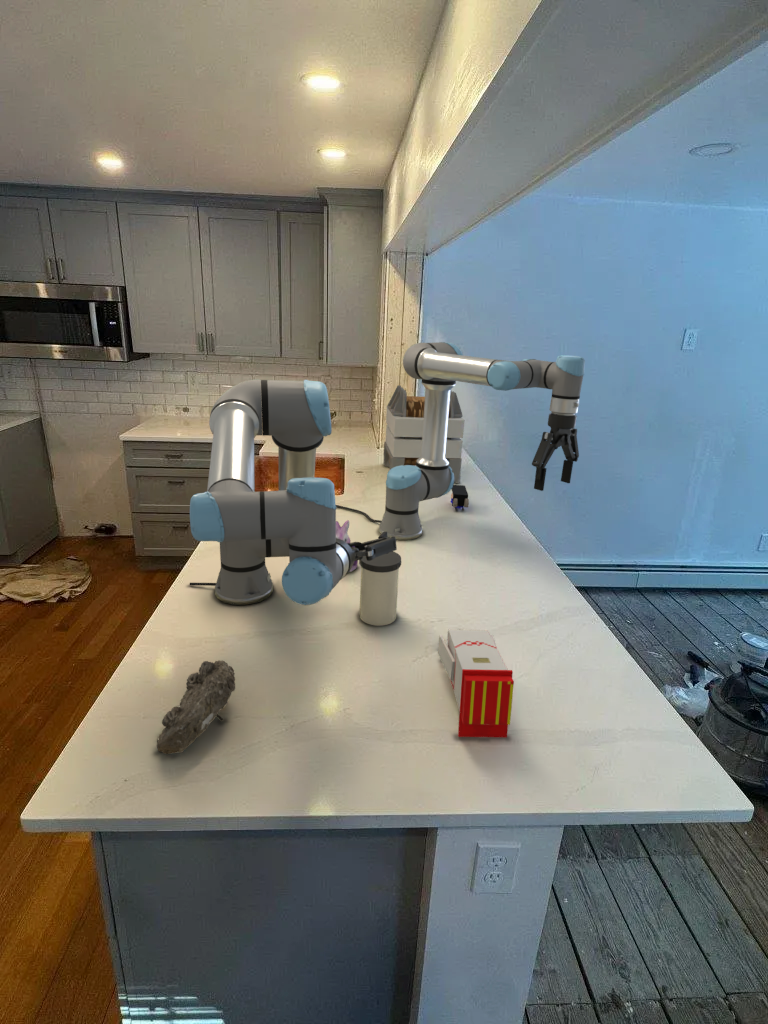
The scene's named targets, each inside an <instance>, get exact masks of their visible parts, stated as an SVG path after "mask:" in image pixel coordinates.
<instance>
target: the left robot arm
mask: <svg viewBox="0 0 768 1024" xmlns="http://www.w3.org/2000/svg"><path fill="white" fill-rule="evenodd" d="M208 424H209V425H208V426H209V429H210V432H211V434H212V443H211V452H210V462H209V472H208V479H207V489H206V491H204V492H198V493H195V494H192V496H191V498H190V500H189V522H190V523H189V526H190V532H191V535H192V538H193V539H195V540H196V541H197V542H216V543H219V557H220V559H219V560H220V569H219V573H218V576H217V580H216V582H189V586H211V587H212V586H213V587H214V593H215V597H216V599H217V600H219V601H221V602H222V603H225V604H228V605H234V606H235V605H236V606H245V605H246V606H247V605H252V604H257V603H260V602H262V601H264V600H266V599H268V598H269V597H271V595H272V594H273V591H274V585H273V583H274V582H273V580H272V576H271V573H270V572H269V570H268V567H267V565H266V558H285V557H286V558H287V557H288V558H289V560H288V561H289V563H287V565H286V566H285V568H284V570H283V572H282V575H281V587H282V589H283V592H284V594H285V596H287V597H288V599H290V600H291V602H293V603H296V604H298V605H302V606H310V605H311V606H312V605H314V604H317V603H318V602H320V601H322V600H323V599H325V598H326V597H328V596H329V595H330V594H331V592H332V590H333V589H335V587H337V585H338V584H339V583H340V581H341V580H342V579H344V578H345V577H346V576H347V575H348V574H349V573H350V572H349V571H350V570H351V568H352V566H353V563H354V561H357V560H358V561H359V560H361V559H362V558H363V556H365V557H366V559H367V560H368V561H371V560H373V559H374V558H375V557H378V556H381V555H384V554H388V553H389V552H392V551H393V552H396V551H397V549H398V548H397V540H396V538H395V537H391V538H390V537H388V535H387V532H383V533H382V534H380V535H379V536H378V537H377V538H376V539H372V540H368V541H364V542H361V541H353V542H350V543H346V542H345V541H343V540H341V539H338V538H336V521H337V507H336V505H337V504H336V492H335V491H336V490H335V484H334V482H333V481H332V480H331V479H329V478H326V477H315V473H316V459H317V458H316V457H317V449H318V448H320V446H321V445H322V444H323V441H324V438H325V437H328V436H331V435H332V430H333V429H332V417H331V409H330V399H329V393H328V388H327V385H326V384H325V383H324V382H322V381H319V380H308V379H303V380H283V379H281V380H280V379H279V380H278V379H277V380H276V379H249V380H245V381H242V382H239V383H237V384H235V385H233V386H231V387H230V388H228V389H227V390H226V391H225V392H223V393H222V394H221V395H220V397H219V398H218V399H217V400H216V401H215V402H214V404H213V406H212V408H211V410H210V415H209V421H208ZM256 436H264V437H265V436H269V437H271V439H272V441H273V443H274V445H276V447H278V449H277V450H278V455H277V457H278V459H277V460H278V461H277V463H278V490H268V491H255V487H256V485H255V484H256V483H255V438H256ZM352 546H355V547H352Z"/></svg>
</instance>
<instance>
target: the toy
mask: <svg viewBox="0 0 768 1024" xmlns="http://www.w3.org/2000/svg"><path fill="white" fill-rule="evenodd" d="M446 640H447V643H446V641H445V639H444V636H443V635H442V634H439V637H438V646H437V656H438V657H439V659H440V661H441V663H442V666H443V668H444V670H445V672H446V674H447V677H448V679H449V681H450V684H451V687H452V690H453V693H454V697H455V701H456V705H457V708H458V711H459V714H458V715H459V716H458V730H457V731H458V732H457V737H458V738H508V731H509V726H510V725H511V717H512V707H513V697H514V696H513V695H514V684H515V680H514V679H513V673H514V671H513V670H512V669H508V667H507V665H506V662H505V661H504V659H503V658H502V655H501V653H500V651H499V649H498V647H497V643H496V639H495V637H494V635H493V634H491V632H490V631H489V629H467V628H466V629H465V628H463V629H461V628H460V629H459V628H448V630H447V639H446Z"/></svg>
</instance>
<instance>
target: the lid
mask: <svg viewBox="0 0 768 1024" xmlns="http://www.w3.org/2000/svg"><path fill="white" fill-rule="evenodd" d="M358 564H359V566H360V568H361V567H362V568H364V569H366V570H368V571H372V572H381V573H384V572H391V571H395V570H397V569H398V568H399V569H400V568H401V566H402V556H401V555H400V554H399V553H398V552H396V551H392V552H389V553H388V554H384V555H381V556H378V557H375V558H374V559H373V560H371V561H368V560H367V559H366V557H365V556H363V558H362V559H361V560H358Z"/></svg>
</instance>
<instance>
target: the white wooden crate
mask: <svg viewBox="0 0 768 1024" xmlns="http://www.w3.org/2000/svg"><path fill="white" fill-rule="evenodd" d="M407 394H408V393H407V390H406V389H404V388H403V387H402V385H399V384H398V385H397V386H396V388H395V390H394V392H393V394H392V395H391V398H390V400H389V402H388V404H387V405H386V413H385V414H386V415H385V423H386V428H385V438H384V442H383V466H384V467H388V468H389V470H390V469H392V468H394V467H396V466H401V465H404V466H405V465H413V466H416V461H417V459H418V458H420V457H421V449H422V434H423V419H424V404H425V396H415V395H414V396H413V395H412V396H411V395H407ZM464 429H465V419H464V418H463V411H462V408H461V405H460V402H459V398H458V395H457V392H455V391H453V390H451V392H450V404H449V416H448V428H447V441H446V453H445V458H446V459H447V461H448V462H449V466H450V467H451V469H452V473H454V484H455V483H456V484H459V483H461V472H462V461H463V460H462V453H463V442H464V441H463V440H462V439H463V438H464V431H465V430H464Z"/></svg>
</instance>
